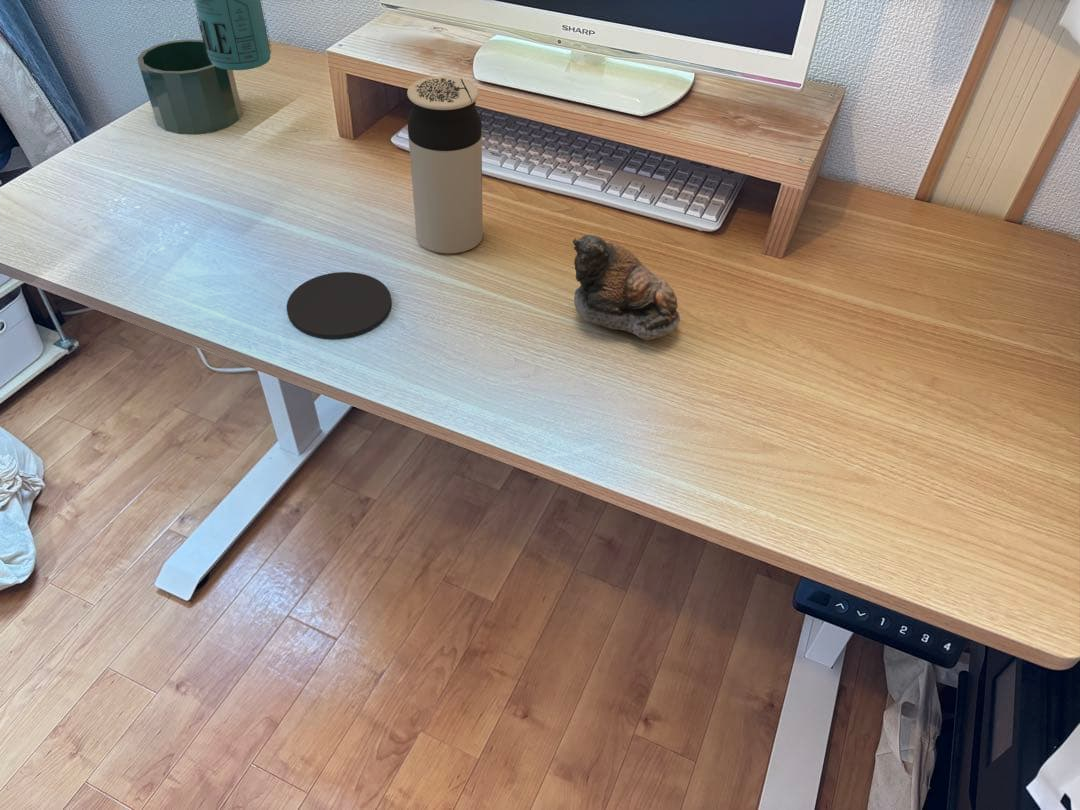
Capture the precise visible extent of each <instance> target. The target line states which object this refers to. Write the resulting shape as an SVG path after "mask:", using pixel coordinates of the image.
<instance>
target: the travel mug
mask: <svg viewBox="0 0 1080 810" xmlns="http://www.w3.org/2000/svg"><path fill="white" fill-rule="evenodd" d="M406 91H407V92H406V93H407V94H406V95H407V98H408V99H409V100H410V103H411V110H410V112H409V115H408V116H407V119H406V120H407V121H406V123H407V135H408V148H409V149H408V150H409V160H410V169H411V170H410V175H411V186H412V187H411V188H412V197H413V210H414V211H413V212H414V220H415V221H414V223H415V236H416V240H417V241H418V243H419V244H420V245H421V246H422V247H424V249H427V250H429V251H431V252H435V253H439V254H458V253H463V252H467V251H469V250H471V249H474V248H475V247H477V246H478V245H479V244H480V243H481V241H482V240H483V237H484V229H483V227H484V223H483V222H484V221H483V216H484V215H483V213H484V211H483V138H482V136H483V134H482V132H483V128H482V124H483V123H482V117H481V115H480V113H479V111H478V110H477V108H476V103H477V100H478V98H479V96H480V91H479V88H478V86H477V85H475V84H474V83H473V82H471V81H469V80H467V79H465V78H460V77H456V76H450V75H449V76H447V75H439V76H438V75H437V76H430V77H425V78H421V79H419V80H416V81H414V82H413V83H412V84H410V85H409V87H407V90H406Z"/></svg>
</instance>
